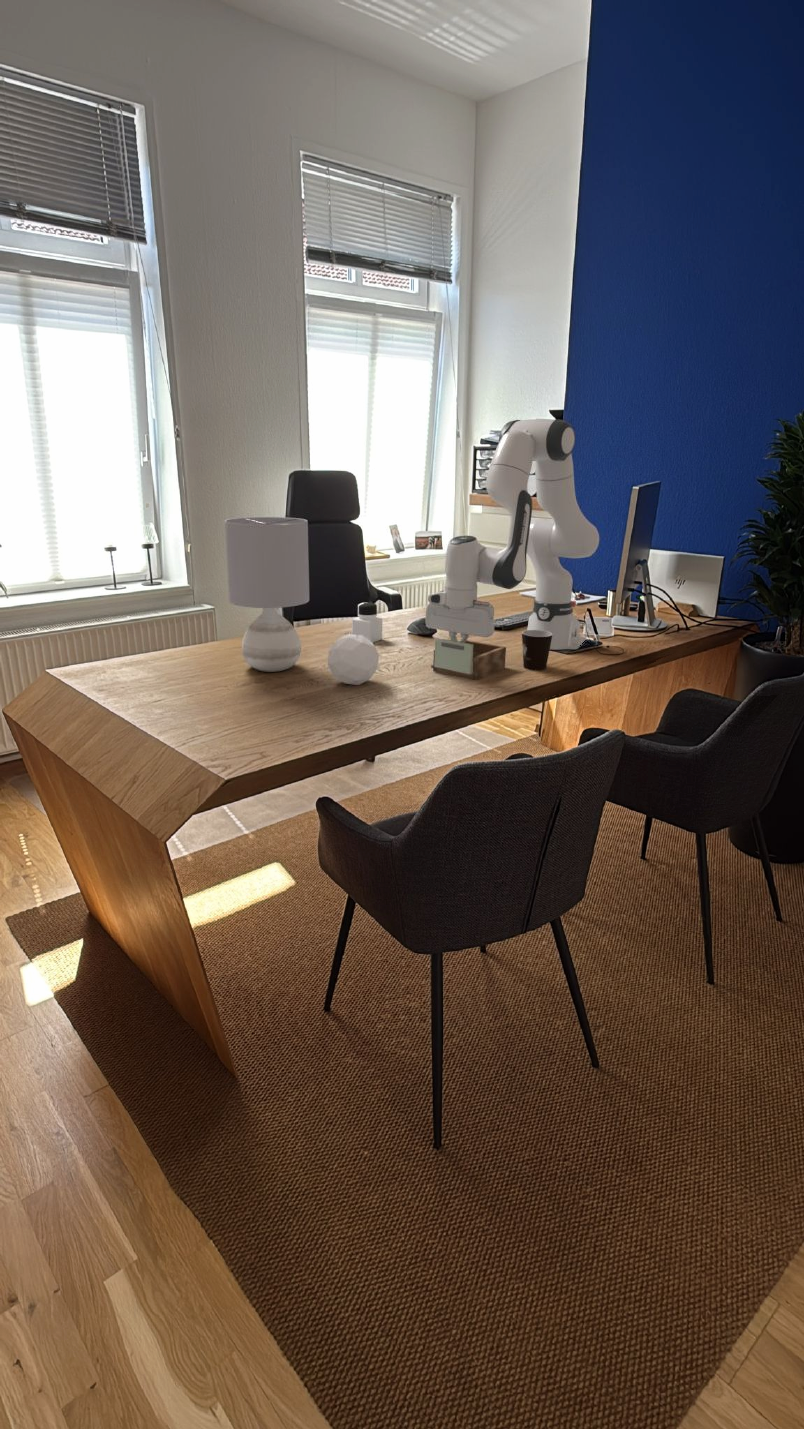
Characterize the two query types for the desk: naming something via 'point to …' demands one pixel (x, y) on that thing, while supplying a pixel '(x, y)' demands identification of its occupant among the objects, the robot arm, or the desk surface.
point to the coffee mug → (536, 649)
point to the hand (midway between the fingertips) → (458, 648)
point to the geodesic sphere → (353, 659)
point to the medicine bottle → (368, 622)
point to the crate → (480, 660)
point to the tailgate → (453, 655)
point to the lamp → (268, 584)
